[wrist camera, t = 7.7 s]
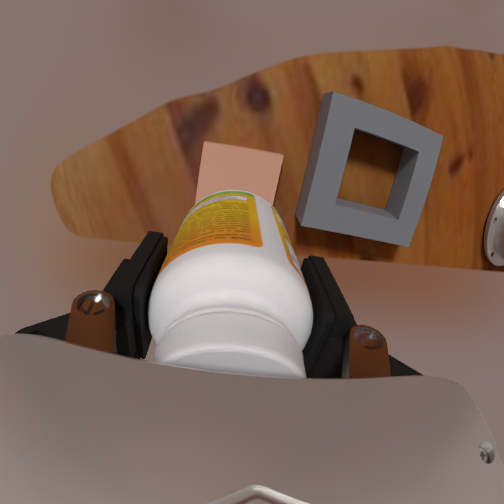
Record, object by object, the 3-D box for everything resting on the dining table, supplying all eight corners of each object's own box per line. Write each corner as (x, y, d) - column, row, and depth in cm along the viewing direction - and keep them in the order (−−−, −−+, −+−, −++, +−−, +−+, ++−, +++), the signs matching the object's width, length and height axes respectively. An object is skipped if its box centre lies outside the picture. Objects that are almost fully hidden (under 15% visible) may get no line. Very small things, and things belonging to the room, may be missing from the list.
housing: (426, 132, 24) (443, 136, 21) (395, 235, 29) (408, 247, 26) (323, 93, 22) (333, 91, 20) (295, 214, 27) (300, 225, 25)
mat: (282, 153, 25) (283, 155, 24) (266, 224, 28) (267, 228, 27) (205, 140, 24) (204, 141, 23) (195, 212, 27) (193, 216, 26)
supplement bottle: (165, 251, 15) (101, 403, 6) (215, 166, 13) (169, 271, 5) (248, 296, 17) (256, 454, 8) (305, 223, 15) (379, 370, 6)
